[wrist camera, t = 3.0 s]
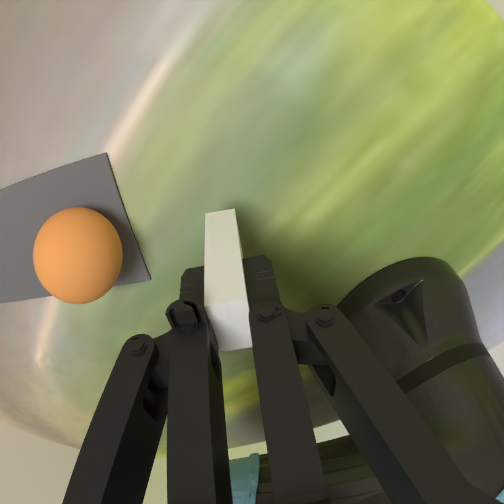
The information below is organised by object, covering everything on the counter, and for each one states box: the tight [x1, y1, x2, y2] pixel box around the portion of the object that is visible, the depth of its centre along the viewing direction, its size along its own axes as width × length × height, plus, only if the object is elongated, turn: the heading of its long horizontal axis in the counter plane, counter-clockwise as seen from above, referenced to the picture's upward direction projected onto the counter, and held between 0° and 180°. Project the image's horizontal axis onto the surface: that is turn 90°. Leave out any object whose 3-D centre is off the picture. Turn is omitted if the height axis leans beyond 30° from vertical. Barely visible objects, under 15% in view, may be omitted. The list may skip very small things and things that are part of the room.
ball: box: [33, 207, 123, 304], centre depth 18 cm, size 6×6×6 cm
